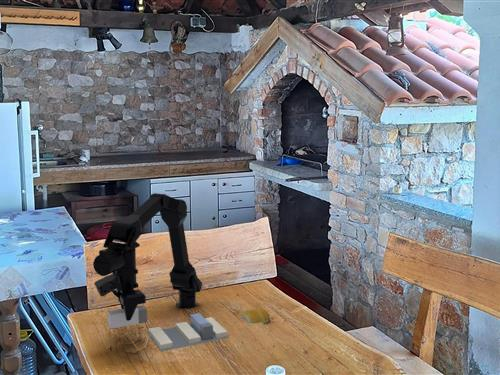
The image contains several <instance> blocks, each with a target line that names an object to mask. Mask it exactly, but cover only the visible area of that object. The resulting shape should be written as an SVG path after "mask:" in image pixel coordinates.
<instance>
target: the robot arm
mask: <svg viewBox="0 0 500 375" xmlns="http://www.w3.org/2000/svg"><path fill="white" fill-rule="evenodd" d="M158 213H159V214H160V217H161V219H162V221H163V222H164V224H165V225H166V226H167V229H168V234H169V241H170V246H171V247H170V248H171V255H172V259H173V260H172V261H173V267H172V269H171V271H170V272H169V274H168V275H169V279H170V281H169V282H170V283H171V286H172V290H174V291H178V302H177V303H175V306H176V307H177V308H178V310H180V309H181V310H182V309H187V310H189V309H194V308H196V307H198V306H199V304H197V295H196V294H197V293H201V290H202V288H203V282H202V281H201V280H200V278H199V277H198V275H197V272H196V269H195V267H194V265H192V263H191V262H190V259H189V253H188V252H189V251H188V245H187V239H186V233H185V226H184V222H185V220H186V218H187V216H188V206H187V202H186V201H185V200H184V199H181V198H180V199H179V198H175V197H171V196H169V195H167V194H165V193H157V192H155V193H152V194H150V196H149V198H148V199H146V200H145V202H143V203H142V204H141V205H140V206H139V207H138V208H137V209H136V210H134V211H133V212H132V213H131V214H130V215H126V216H123V217H120V218H118V219H117V220H115V221H114V222H112V223H111V226H110V228H109V230H108V233H107V236H106V238H105V240H104V243H103V245H102V247H103V248H105V249H100V250H99V251H98V253H99V254H98V255H97V256H95V257H94V259H93V262H92V266H93V269H94V272H96V274H98V275H99V276H101V277H102V278H100V279H98V280H95V281H94V282H93V284H94V286H95V289H96V291H97V293H98V294H99V297H105V296H107V295H108V294H109V293H112V294H113V295H114V296H115V297H116V298H118V299H117V301H118V302H119V305H120V309H124V311H125V316H126V320H127V321H129V320H131V318H132V316H133V314H134V311H135V309H136V307H137V306H139V305H141V304H142V305H144V304H146V303H147V297H146V296H147V295H146V294H145V293H144V292H143V291H142V290H140V289H138V288H139V283H138V282H137V274H139V270H138V268H137V259H136V258H137V255H136V253H137V252H136V251H137V250H136V248H139V247H140V243H139V242H137V241H138V240H139V238H140V237H141V235H142V233H143V228H144V226H146V225H147V224H148V223H149V222H150V221H151V220H152V219H153V218H154V217H155V216H157V214H158Z"/></svg>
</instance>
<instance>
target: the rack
mask: <svg viewBox="0 0 500 375" xmlns="http://www.w3.org/2000/svg"><path fill="white" fill-rule="evenodd" d="M204 318H205V319H206V320H207V321H208V322H209V323H211V324H212V325H213V338H212V339H207V340H202V339H201V337H200V336H199V335H198V334H197V333H196V331H195V330H194V329H193V328H192V327H191V326H190V323H188V322H187V321H184V322H183V321H182V322H177V323H175V326H173V327H168V328H164V329H163V328H161V326H156V327H155V326H154V327H151V328H148V331H147V332H146V334H147V335H148V336H149V338H150V339H151V340H152V341H153V343H154V344H155V345H156V347H157V348H158V349H159V351H160V352H161V353H162V352H167V351H172V350H177V349H181V348H186V347H190V346H195V345H200V344H201V345H202V344H204V343H210V342H211V343H212V342H215V341H220V340H226V339H229V338H230V336H229V335H228V331H227V330H226V329H225V328H224V327H223V326H222V325H221V324H220V323H219V322H217V321H216V319H215V318H214V317H212V316H211V317H204Z"/></svg>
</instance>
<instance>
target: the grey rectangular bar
mask: <svg viewBox="0 0 500 375" xmlns="http://www.w3.org/2000/svg"><path fill="white" fill-rule="evenodd" d="M189 315H190V319H189V320H190V323H189V324H190V326H191V327H192V328H193V329H194V330H195V331H196V333H197V334H198V335H199V336H200V337H201V339H202V340H207V339H212V338H213V325H212V324H211V323H209V322H208V321H207V320H206V319H205V318H206V317H204V316H203V315H202V314H201V313H200V312H198V313H192V314H189Z"/></svg>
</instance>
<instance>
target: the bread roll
mask: <svg viewBox="0 0 500 375" xmlns="http://www.w3.org/2000/svg"><path fill="white" fill-rule="evenodd" d="M270 318H271V316H270V313H269V312H268V311H267V310H266V309H264V308H262V307H261V308H259V307H257V308H253V309H247V310H244V311H243V312H242V313H241V319H242V320H243V321H245V322H246V323H248V324H259V323H262V324H267V323H269V321H270Z"/></svg>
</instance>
